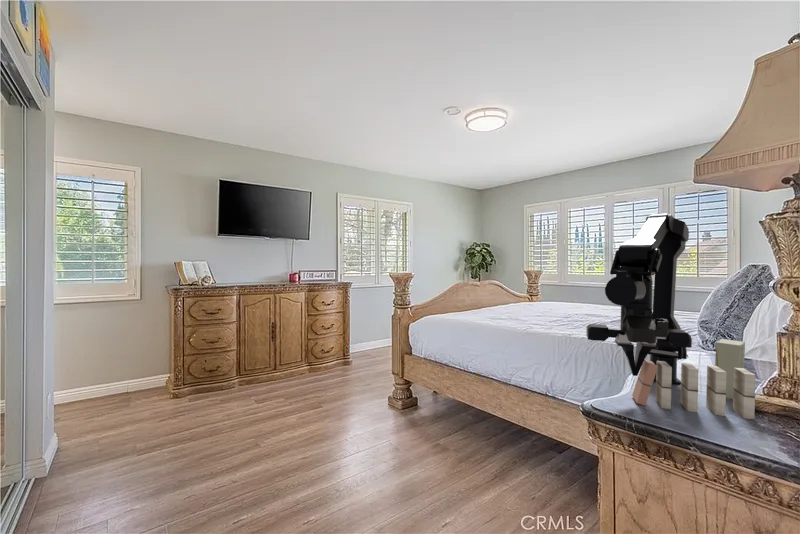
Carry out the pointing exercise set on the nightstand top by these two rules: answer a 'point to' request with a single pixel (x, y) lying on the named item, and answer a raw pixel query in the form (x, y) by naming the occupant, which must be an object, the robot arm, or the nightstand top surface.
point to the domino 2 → (689, 387)
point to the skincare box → (729, 360)
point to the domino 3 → (744, 393)
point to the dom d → (716, 390)
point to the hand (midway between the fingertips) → (634, 375)
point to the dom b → (663, 384)
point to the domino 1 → (644, 382)
